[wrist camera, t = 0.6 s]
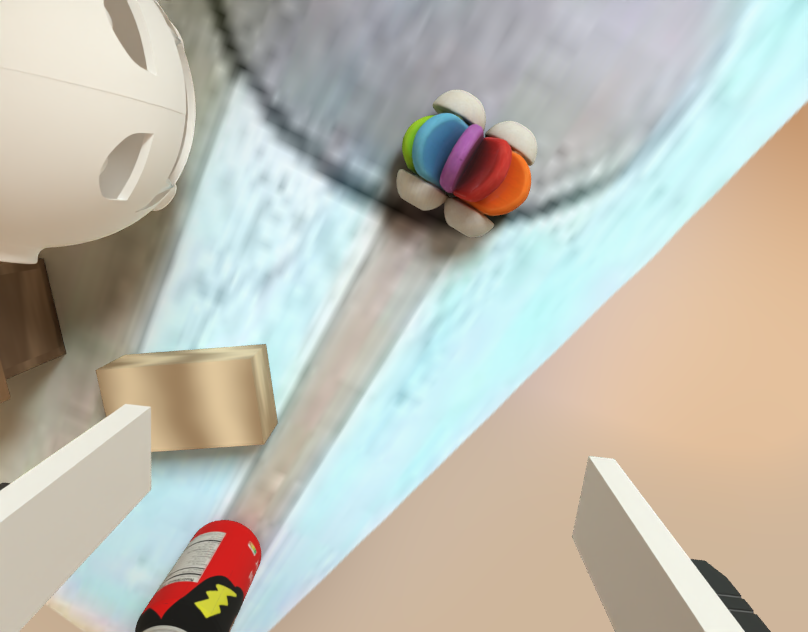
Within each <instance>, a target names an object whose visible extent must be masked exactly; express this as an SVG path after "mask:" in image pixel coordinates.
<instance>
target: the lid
mask: <svg viewBox="0 0 808 632" xmlns="http://www.w3.org/2000/svg"><path fill="white" fill-rule="evenodd" d="M8 399H10V394H9V390H8V386H7V383H6V379H5V375H4V371H3V368H2V364H1V360H0V403H2V402H4V401H6V400H8Z"/></svg>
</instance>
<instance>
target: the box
mask: <svg viewBox="0 0 808 632" xmlns="http://www.w3.org/2000/svg"><path fill="white" fill-rule="evenodd" d="M64 354H66V351H65V347H64V343H63V339H62V334H61V330H60V326H59V322H58V318H57V313H56V309H55V305H54V301H53V296H52V292H51V288H50V284H49V280H48V275H47V271H46V267H45V263H44V259H38V262H37V263H36V264H22V263H10V262H0V360H1V364H2V368H3V371H4V375H5V379H8V378H10V377H13V376H15V375H17V374H20V373H22V372H24V371H27V370H29V369H31V368H34V367H36V366H38V365H41V364H43V363H45V362H48V361H50V360H52V359H55V358H57V357H59V356H62V355H64Z"/></svg>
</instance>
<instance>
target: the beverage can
mask: <svg viewBox="0 0 808 632" xmlns="http://www.w3.org/2000/svg"><path fill="white" fill-rule="evenodd" d="M260 561H261V548H260V544H259V542H258V540H257V538H256V536H255V535H254V534H253V533H252V531H251V530H249V529H248V528H247V527H245V526H244V525H242V524H240V523H238V522H234V521H229V520H220V521H214V522H211V523H209V524H207V525H205V526H203V527H202V528H201V529H200V530H198V532H197V533H196V534H195V535H194V537H193V538H192V540H191V541H190V543H189V544H188V546H187V547H186V549H185V550H184V552H183V553H182V555H181V556H180V558H179V559H178V561H177V562H176V564H175V565H174V567H173V568H172V570H171V571H170V573H169V574H168V575H167V577H166V578H165V580H164V581H163V583H162V584H161V586H160V587H159V589H158V590H157V592H156V593H155V595H154V596H153V598H152V599H151V601H150V602H149V604H148V605H147V607H146V608H145V610H144V611H143V613H142V614H141V616H140V617H139V620H138V622H137V625H136V629H135V632H230V630H231V628H232V626H233V624H234V621H235V619H236V617H237V615H238V612H239V610H240V608H241V606H242V603H243V601H244V599H245V596H246V594H247V592H248V590H249V587H250V585H251V583H252V581H253V578H254V576H255V574H256V571H257V569H258V567H259V564H260Z"/></svg>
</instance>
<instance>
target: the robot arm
mask: <svg viewBox="0 0 808 632" xmlns="http://www.w3.org/2000/svg"><path fill="white" fill-rule="evenodd" d="M150 490H151V407H149V406H140V405H131V404H125V405H123V406H122V407H120V408H119V409H117V410H116V411H115V412H113V413H112V414H110V415H109V416H107V417H106V418H104V419H103V420H102V421H100V422H99V423H97V424H96V425H94V426H93V427H91V428H90V429H89V430H87V431H86V432H84V433H83V434H81V435H80V436H78V437H77V438H76V439H74V440H73V441H71V442H70V443H68V444H67V445H65V446H64V447H63V448H61V449H60V450H58V451H57V452H55V453H54V454H52V455H51V456H50V457H48V458H47V459H45V460H44V461H42V462H41V463H39V464H38V465H37V466H35V467H34V468H32V469H31V470H29V471H28V472H26V473H25V474H24V475H22V476H21V477H19V478H18V479H16V480H15V481H13V482H12V483H1V484H0V632H19V631H20V630H21V629H22V628H23V627H24V626H25V625H26V624H27V623H28V621H29V620H30V619H31V618H32V617H33V616H34V615H35V614H36V613H37V612H38V611H39V610H40V609H41V607H42V606H43V605H44V604H45V603H46V602H47V601H48V600H49V599H50V598H51V597H52V596H53V595H54V594H55V592H56V591H57V590H58V589H59V588H60V587H61V586H62V585H63V584H64V583H65V582H66V581H67V580H68V578H69V577H70V576H71V575H72V574H73V573H74V572H75V571H76V570H77V569H78V568H79V567H80V566H81V564H82V563H83V562H84V561H85V560H86V559H87V558H88V557H89V556H90V555H91V554H92V553H93V552H94V550H95V549H96V548H97V547H98V546H99V545H100V544H101V543H102V542H103V541H104V540H105V539H106V538H107V536H108V535H109V534H110V533H111V532H112V531H113V530H114V529H115V528H116V527H117V526H118V525H119V524H120V522H121V521H122V520H123V519H124V518H125V517H126V516H127V515H128V514H129V513H130V512H131V511H132V510H133V508H134V507H135V506H136V505H137V504H138V503H139V502H140V501H141V500H142V499H143V498H144V497H145V496H146V494H147V493H148V492H149V491H150ZM572 538H573V540H574V542H575V545H576V547H577V549H578V551H579V553H580V555H581V558H582V560H583V562H584V564H585V567H586V569H587V571H588V573H589V575H590V578H591V580H592V582H593V584H594V586H595V589H596V591H597V593H598V595H599V598H600V600H601V602H602V604H603V606H604V609H605V610H606V613H607V615H608V617H609V619H610V622H611V624H612V626H613V628H614V631H615V632H771V631H770V630H769V629H768V628H767V627H766V625H765V624H764V623H763V622H762V621H761V619H760V618H759V617H758V616H757V615H756V614H754V613H753V610H752V608H751V607H750V606H749V604H748V603H747V602H746V601H745V600H744V599H742V598H741V595H740V593H739V592H738V591H737V590H736V588H735V587H734V586H733V585H732V584H731V582H730V581H729V580H728V579H727V578H726V577H725V576H724V575H723V574H721V573H720V572H719V571H718V570H716V569H715V568H713V567H712V566H711V565H710V564H708V563H707V562H706V561H702V560H694V559H690V558H689V557H688V556H687V555H686V553H685V552H684V550H683V549H682V548H681V547H680V545H679V544H678V543H677V541H676V540H675V539H674V537H673V536H672V535H671V533H670V532H669V531H668V529H667V528H666V527H665V525H664V524H663V523H662V521H661V520H660V519H659V518H658V516H657V515H656V514H655V512H654V511H653V509H652V508H651V507H650V505H649V504H648V503H647V502H646V500H645V499H644V498H643V496H642V495H641V494H640V493H639V491H638V490H637V488H636V487H635V486H634V484H633V483H632V482H631V480H630V479H629V478H628V476H627V475H626V474H625V472H624V471H623V470H622V468H621V467H620V466H619V465H618V463H617V462H616V461H615V459H610V458H602V457H593V456H589V457H588V462H587V468H586V472H585V477H584V482H583V487H582V491H581V496H580V501H579V506H578V511H577V516H576V520H575V526H574V530H573V535H572Z"/></svg>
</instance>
